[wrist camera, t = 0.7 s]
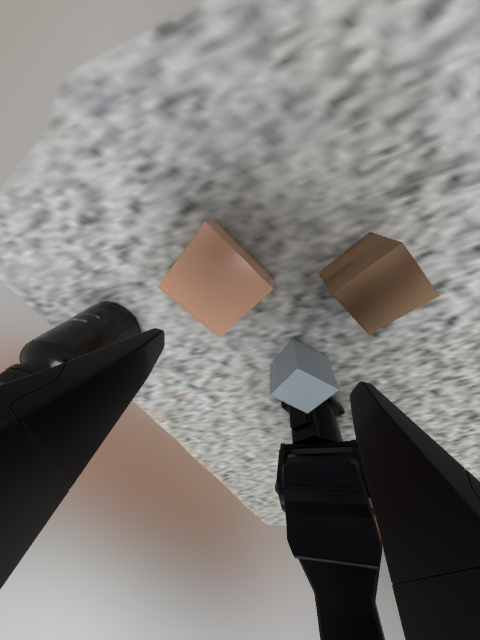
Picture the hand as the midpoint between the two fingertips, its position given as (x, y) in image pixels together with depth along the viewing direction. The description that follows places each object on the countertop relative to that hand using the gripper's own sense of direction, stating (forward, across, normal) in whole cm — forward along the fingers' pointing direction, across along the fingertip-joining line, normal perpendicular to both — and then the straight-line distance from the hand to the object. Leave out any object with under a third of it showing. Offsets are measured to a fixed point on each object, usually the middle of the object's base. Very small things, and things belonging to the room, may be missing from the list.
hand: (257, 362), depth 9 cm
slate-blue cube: (+13, -7, +10) cm, 18 cm away
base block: (+13, +5, +2) cm, 14 cm away
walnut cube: (+13, -8, -2) cm, 15 cm away
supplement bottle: (+13, +18, +11) cm, 25 cm away
